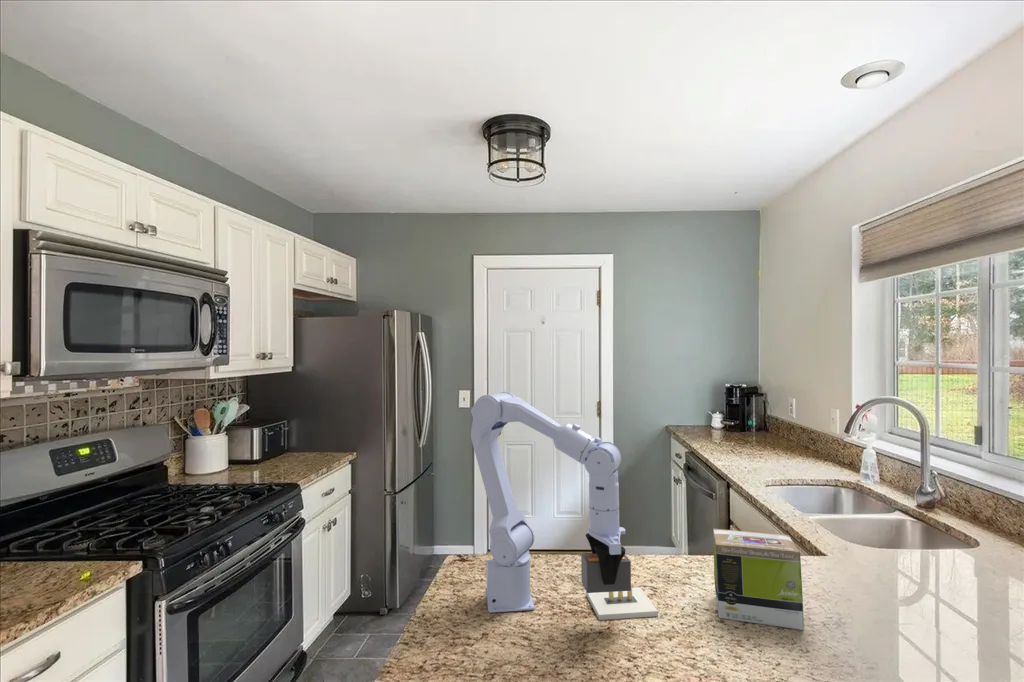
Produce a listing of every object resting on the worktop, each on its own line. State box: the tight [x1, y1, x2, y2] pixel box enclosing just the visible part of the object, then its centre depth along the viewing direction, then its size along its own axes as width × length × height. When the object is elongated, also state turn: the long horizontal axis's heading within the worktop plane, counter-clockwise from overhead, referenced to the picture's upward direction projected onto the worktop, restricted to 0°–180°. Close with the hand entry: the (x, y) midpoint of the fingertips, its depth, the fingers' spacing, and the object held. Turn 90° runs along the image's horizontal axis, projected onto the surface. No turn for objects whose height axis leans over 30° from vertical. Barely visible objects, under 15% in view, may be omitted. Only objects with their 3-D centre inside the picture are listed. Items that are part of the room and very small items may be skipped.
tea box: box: [712, 528, 805, 631], centre depth 98 cm, size 15×10×15 cm, turn 71°
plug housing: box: [580, 552, 632, 593], centre depth 95 cm, size 8×4×6 cm, turn 95°
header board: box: [585, 586, 659, 621], centre depth 101 cm, size 12×10×4 cm
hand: (605, 577), depth 95 cm, fingers closed on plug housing, 4 cm apart
